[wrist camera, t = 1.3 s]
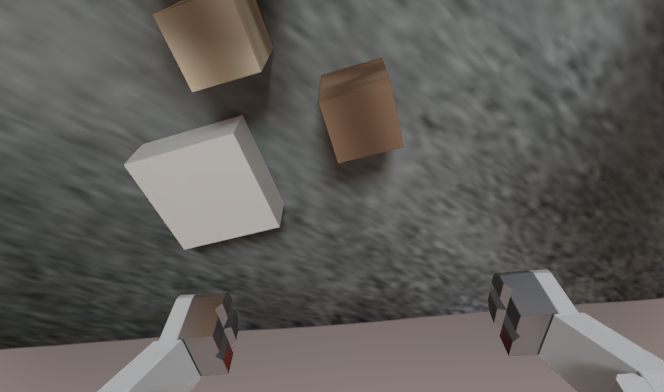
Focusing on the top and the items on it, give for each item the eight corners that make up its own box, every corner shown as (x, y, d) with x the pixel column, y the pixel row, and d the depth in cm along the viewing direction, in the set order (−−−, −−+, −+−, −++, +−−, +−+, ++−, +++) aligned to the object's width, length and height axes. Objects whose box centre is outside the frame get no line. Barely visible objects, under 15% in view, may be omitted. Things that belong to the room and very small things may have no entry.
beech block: (247, -23, 27) (228, -12, 22) (273, 48, 29) (261, 71, 25) (184, -1, 27) (152, 14, 23) (215, 66, 30) (192, 92, 25)
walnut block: (381, 57, 30) (390, 82, 25) (393, 114, 33) (403, 147, 28) (321, 74, 31) (318, 102, 26) (337, 129, 33) (338, 163, 28)
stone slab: (243, 113, 33) (233, 133, 30) (284, 201, 38) (279, 227, 35) (143, 142, 35) (123, 164, 31) (196, 223, 40) (184, 249, 37)
